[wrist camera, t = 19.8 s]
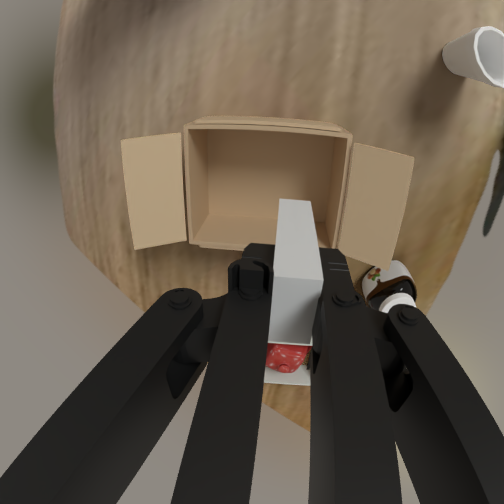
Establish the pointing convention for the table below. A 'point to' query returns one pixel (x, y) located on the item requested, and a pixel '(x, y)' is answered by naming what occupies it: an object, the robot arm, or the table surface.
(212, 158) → the carton
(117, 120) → the table surface
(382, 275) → the spread jar
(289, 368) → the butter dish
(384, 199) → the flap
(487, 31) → the foam cup
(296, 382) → the dish caddy
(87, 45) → the table surface
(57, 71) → the table surface
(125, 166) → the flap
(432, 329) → the robot arm
